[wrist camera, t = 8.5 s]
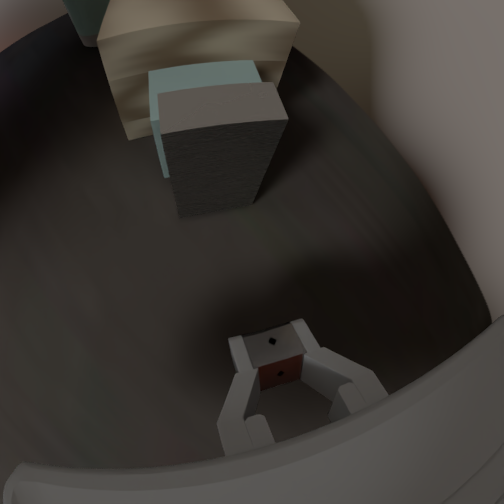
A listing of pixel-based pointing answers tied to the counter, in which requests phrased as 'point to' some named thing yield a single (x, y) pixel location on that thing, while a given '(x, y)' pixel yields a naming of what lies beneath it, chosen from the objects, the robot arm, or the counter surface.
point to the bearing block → (187, 44)
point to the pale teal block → (193, 86)
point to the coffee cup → (87, 18)
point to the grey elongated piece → (219, 143)
